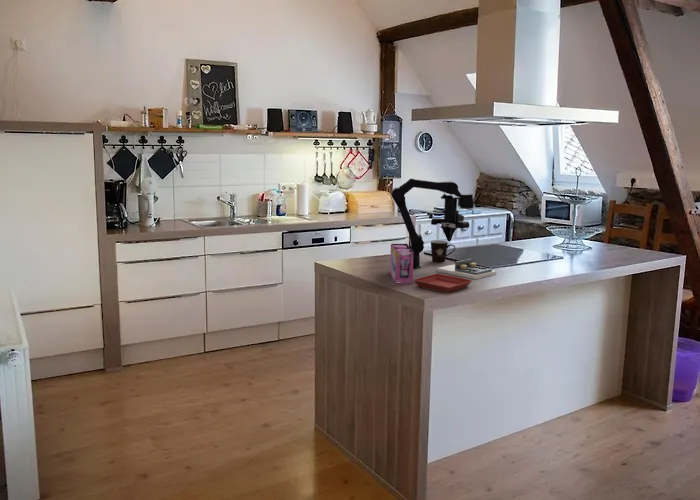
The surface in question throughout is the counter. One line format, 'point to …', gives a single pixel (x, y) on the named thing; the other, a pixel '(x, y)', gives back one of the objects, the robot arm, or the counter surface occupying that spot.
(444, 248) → the coffee mug
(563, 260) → the counter surface
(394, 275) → the gum box
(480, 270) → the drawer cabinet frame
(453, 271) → the board
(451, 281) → the plant saucer
